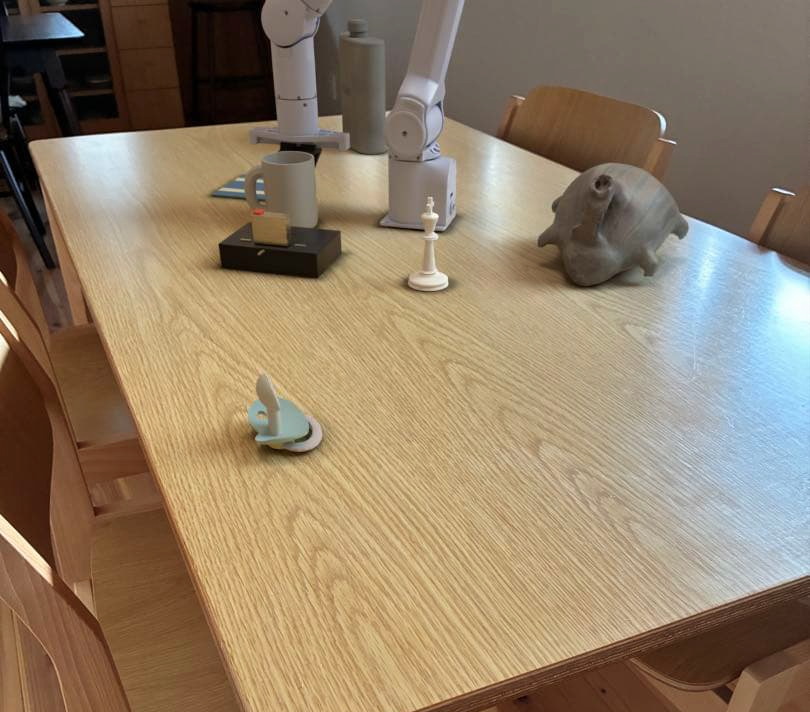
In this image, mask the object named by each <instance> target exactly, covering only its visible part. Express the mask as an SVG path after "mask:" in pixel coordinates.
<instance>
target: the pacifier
mask: <svg viewBox="0 0 810 712" xmlns="http://www.w3.org/2000/svg"><path fill="white" fill-rule="evenodd" d="M255 391H256V395H257V399H255V400H254V401H253V402H252V403H251V404H250V405H249V408H248V409H247V410H248V411H247V420H248V422H249V425H250V427H251V428H252V429H253V430H254V431H255V432H256V433H258V434H256V436H255V437H254V440H255V443H256V444H258V445H268V446H269V447H270V448H272V449H275V450H287V451H291V452H298V453H300V452H308V451H311V450H313V449H314V448H316V447H317V446H318V445H319V444H320V443H321V441H322V439H323V430H322V427H321V425H320V424H319V422H318V420H316V419H315V418H313V416H310V415H309V414H306V413H303V411H302V410H301V409H300V408H299V407H298V406H297V405H296V404H294V403H293V402H291V401H290V400H289V399H286V398H284V397H283V398H282V397H279V396H278V395H277V393H276V390H275V388H274V385H273V383H272V380H271V379H270V377H269V376H268V374H267V373H266V372H265V373H262V374H260V375H259V376H258V378H257V380H256V384H255ZM259 415H264V416H265V418H259V417H258V416H259ZM309 431H311V433H312V434H311V435H310V437H309V438H308V439H307V440H305V441H300V442H295V440H298V439H301V438H303V437H305V436H306V435H308V433H309Z"/></svg>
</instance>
